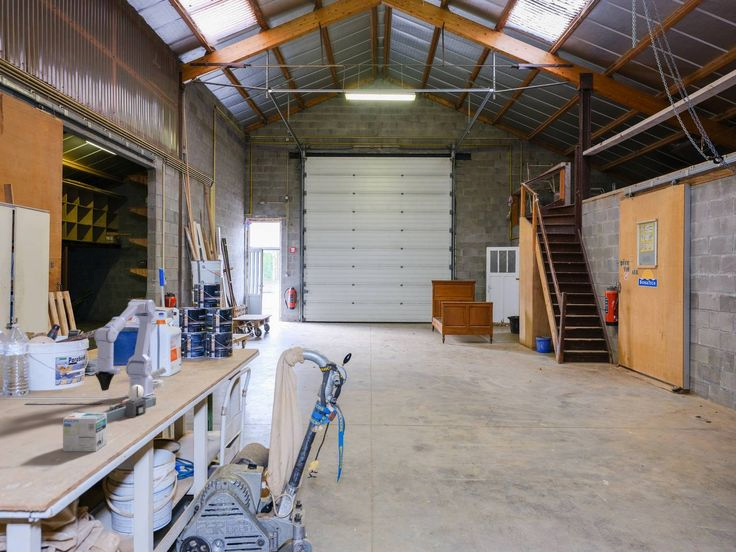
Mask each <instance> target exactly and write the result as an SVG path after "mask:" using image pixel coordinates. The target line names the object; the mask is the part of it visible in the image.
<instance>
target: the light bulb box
mask: <svg viewBox="0 0 736 552" xmlns="http://www.w3.org/2000/svg"><path fill="white" fill-rule="evenodd" d="M74 412H75V411H74ZM74 412H73V413H71V414H69V415H67V416H65V417H63V419H62V452H97V451H99V450H100V449H101V448H103V447H105V446H106V445H107V444H108V443H107V436H108V435H107V431H108V430H107V428H108V427H107V413H102V412H89V413H76V412H75V413H74Z"/></svg>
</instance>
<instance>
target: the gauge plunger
mask: <svg viewBox="0 0 736 552" xmlns="http://www.w3.org/2000/svg"><path fill="white" fill-rule="evenodd" d="M124 407H126V406H124ZM142 412H143V407H138V406H136V414H140V413H142Z"/></svg>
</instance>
